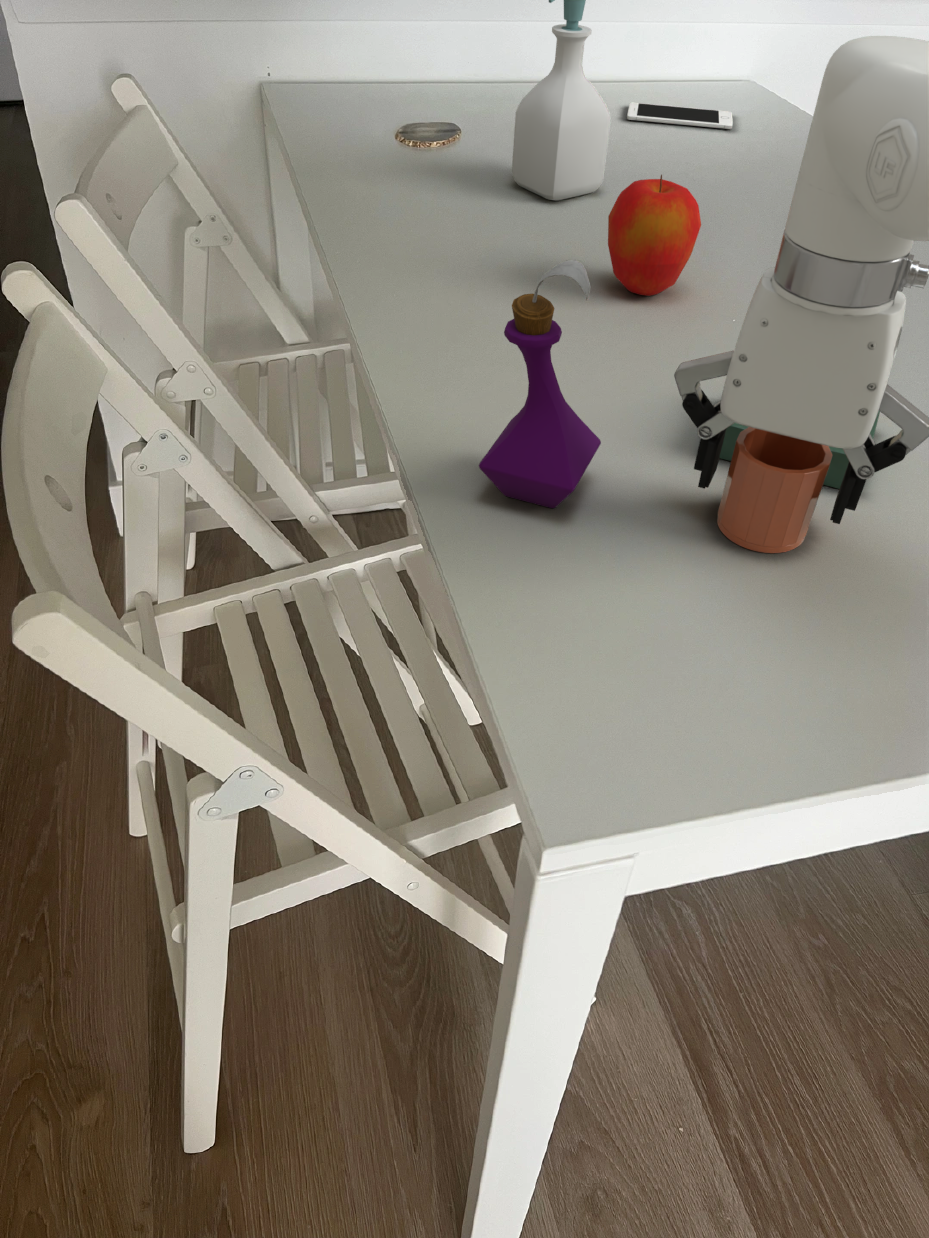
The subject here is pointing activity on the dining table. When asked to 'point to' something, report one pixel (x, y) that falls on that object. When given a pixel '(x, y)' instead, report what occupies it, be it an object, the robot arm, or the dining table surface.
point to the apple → (652, 234)
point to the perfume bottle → (541, 411)
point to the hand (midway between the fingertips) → (770, 495)
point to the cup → (771, 490)
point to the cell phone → (680, 115)
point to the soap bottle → (562, 122)
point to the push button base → (838, 454)
